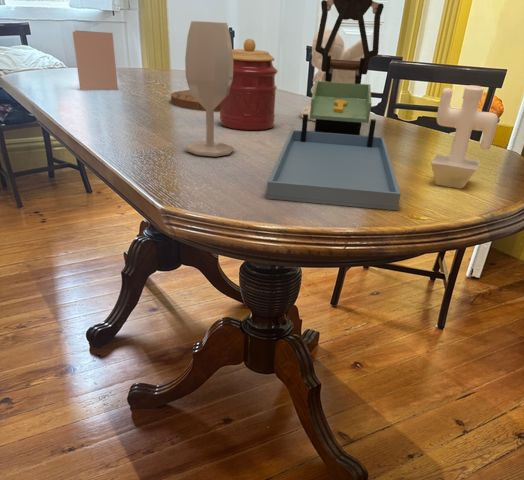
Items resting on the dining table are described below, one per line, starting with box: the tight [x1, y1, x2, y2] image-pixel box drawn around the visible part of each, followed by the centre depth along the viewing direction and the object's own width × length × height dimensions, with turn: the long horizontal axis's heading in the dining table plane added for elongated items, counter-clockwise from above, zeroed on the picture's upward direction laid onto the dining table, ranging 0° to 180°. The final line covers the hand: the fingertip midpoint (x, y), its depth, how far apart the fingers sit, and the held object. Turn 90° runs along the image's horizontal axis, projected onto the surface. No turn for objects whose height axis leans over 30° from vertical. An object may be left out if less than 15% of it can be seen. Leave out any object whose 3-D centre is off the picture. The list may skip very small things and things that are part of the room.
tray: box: [266, 129, 402, 211], centre depth 91 cm, size 40×19×2 cm, turn 172°
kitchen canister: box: [219, 38, 278, 131], centre depth 117 cm, size 13×13×18 cm
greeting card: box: [72, 29, 119, 91], centre depth 153 cm, size 11×7×15 cm, turn 84°
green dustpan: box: [310, 59, 372, 124], centre depth 112 cm, size 24×12×6 cm, turn 172°
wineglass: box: [184, 20, 234, 158], centre depth 92 cm, size 9×9×21 cm
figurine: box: [430, 84, 499, 190], centre depth 84 cm, size 7×9×15 cm
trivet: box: [170, 89, 221, 112], centre depth 145 cm, size 25×25×2 cm
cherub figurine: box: [300, 28, 364, 122], centre depth 130 cm, size 13×12×20 cm
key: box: [334, 100, 347, 113], centre depth 109 cm, size 7×3×1 cm, turn 172°
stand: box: [301, 114, 377, 148], centre depth 111 cm, size 14×15×6 cm
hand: (341, 88), depth 121 cm, fingers closed on green dustpan, 7 cm apart
